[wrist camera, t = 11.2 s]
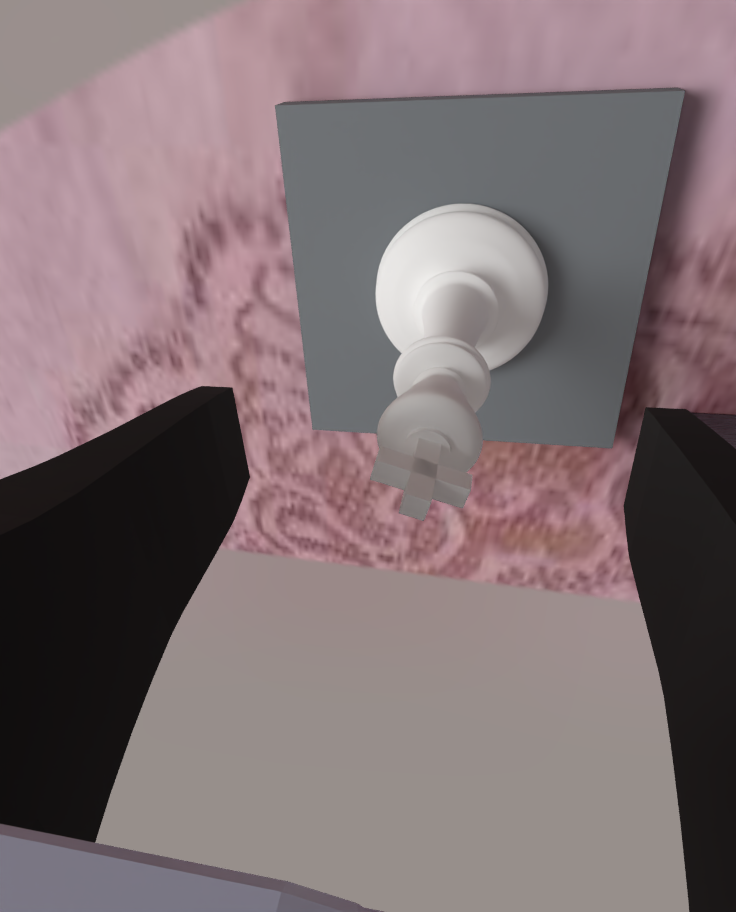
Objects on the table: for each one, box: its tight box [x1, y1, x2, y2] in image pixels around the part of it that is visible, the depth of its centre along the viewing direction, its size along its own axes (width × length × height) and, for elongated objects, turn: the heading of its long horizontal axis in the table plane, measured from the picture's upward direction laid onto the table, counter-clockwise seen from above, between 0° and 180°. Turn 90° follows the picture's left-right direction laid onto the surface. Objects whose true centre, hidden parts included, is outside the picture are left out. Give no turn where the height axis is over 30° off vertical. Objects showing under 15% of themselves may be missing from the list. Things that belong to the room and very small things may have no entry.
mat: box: [275, 88, 685, 448], centre depth 19 cm, size 10×10×1 cm
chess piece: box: [370, 204, 548, 521], centre depth 14 cm, size 5×5×10 cm
